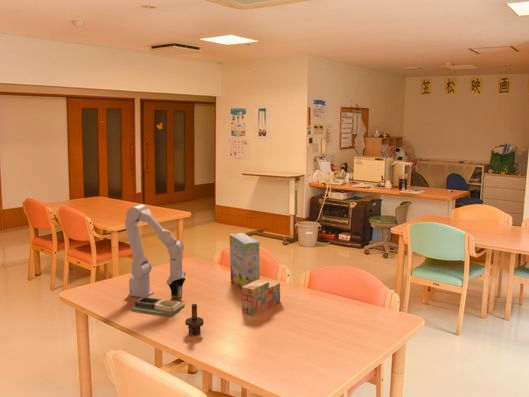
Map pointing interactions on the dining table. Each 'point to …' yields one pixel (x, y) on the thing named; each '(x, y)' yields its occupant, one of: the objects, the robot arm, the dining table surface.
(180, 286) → the plug
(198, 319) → the industrial component
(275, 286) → the stack of blocks
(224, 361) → the dining table surface
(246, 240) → the snack box
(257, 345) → the dining table surface
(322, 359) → the dining table surface
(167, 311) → the board
